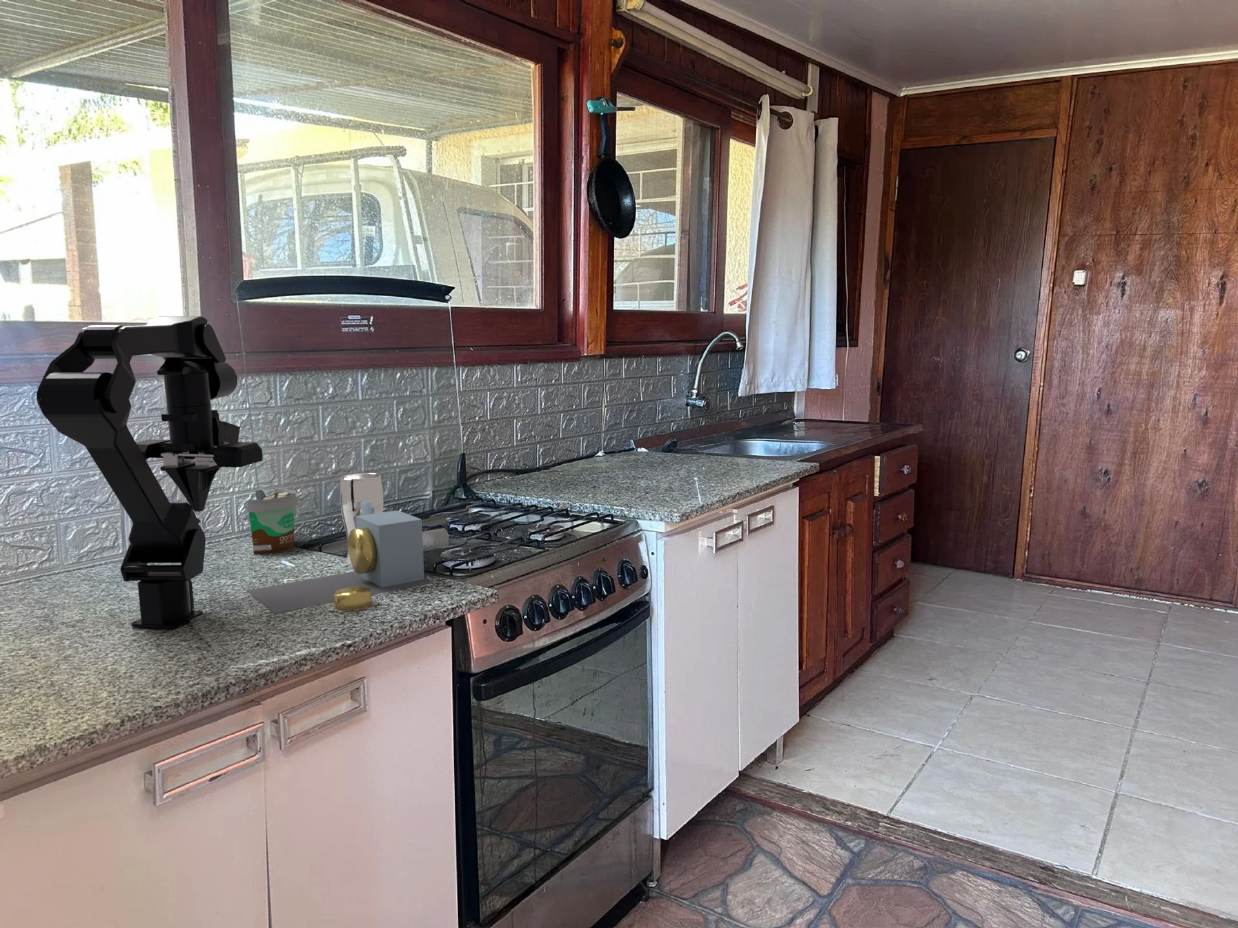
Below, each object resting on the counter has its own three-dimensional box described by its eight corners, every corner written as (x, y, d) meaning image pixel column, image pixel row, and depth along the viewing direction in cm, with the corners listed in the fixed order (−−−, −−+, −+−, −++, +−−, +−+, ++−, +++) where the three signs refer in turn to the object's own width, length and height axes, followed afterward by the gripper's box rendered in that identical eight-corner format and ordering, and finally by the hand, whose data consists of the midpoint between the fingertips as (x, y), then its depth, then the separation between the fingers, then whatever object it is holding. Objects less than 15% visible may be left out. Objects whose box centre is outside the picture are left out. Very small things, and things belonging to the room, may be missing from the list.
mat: (274, 616, 120) (274, 613, 120) (246, 592, 131) (245, 590, 131) (433, 584, 134) (433, 582, 134) (396, 566, 145) (396, 563, 145)
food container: (285, 556, 152) (281, 500, 151) (250, 556, 152) (246, 500, 151) (311, 540, 164) (308, 488, 163) (278, 540, 164) (275, 488, 163)
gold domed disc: (362, 614, 121) (361, 597, 120) (328, 613, 122) (327, 595, 121) (377, 604, 126) (376, 587, 125) (345, 602, 126) (344, 585, 126)
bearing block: (381, 587, 132) (378, 525, 130) (359, 574, 139) (355, 516, 137) (424, 579, 136) (421, 519, 135) (400, 567, 143) (397, 510, 142)
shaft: (366, 578, 131) (364, 533, 130) (349, 568, 137) (347, 525, 136) (455, 562, 140) (454, 520, 139) (435, 553, 146) (434, 513, 145)
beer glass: (392, 557, 151) (388, 472, 149) (377, 568, 144) (372, 479, 142) (353, 557, 152) (349, 472, 149) (336, 567, 145) (331, 479, 142)
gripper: (280, 400, 130) (287, 501, 133) (170, 398, 134) (179, 496, 137) (234, 408, 119) (243, 518, 122) (116, 406, 123) (127, 513, 126)
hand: (199, 511), depth 127 cm, fingers closed
